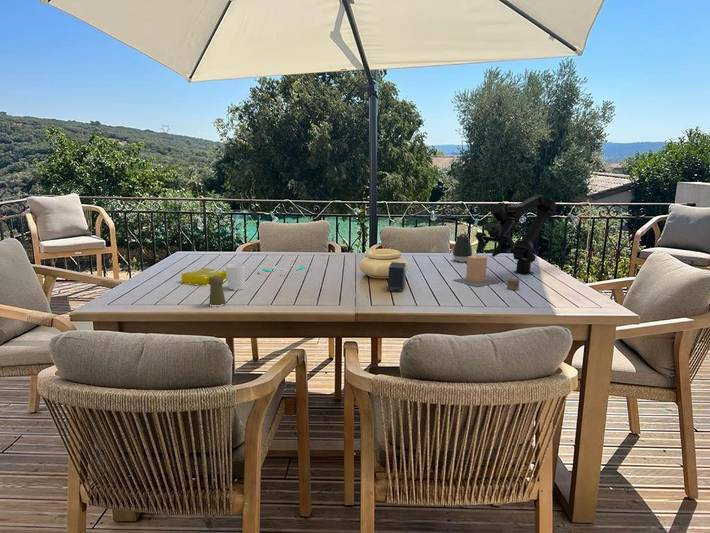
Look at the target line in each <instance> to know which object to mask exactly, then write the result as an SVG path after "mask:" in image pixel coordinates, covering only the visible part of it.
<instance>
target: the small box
mask: <svg viewBox="0 0 710 533" xmlns="http://www.w3.org/2000/svg"><path fill="white" fill-rule="evenodd" d="M406 267H407V265H406V262H405V263H404V262H394V261H392V262H391V263H390V264H389V266H388V278H387V279H388V283H387V285H388V286H387V291H388V292H397V293H403V291H404V289H405V287H406V272H407V271H406V270H407V268H406Z"/></svg>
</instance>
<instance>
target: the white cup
mask: <svg viewBox="0 0 710 533" xmlns="http://www.w3.org/2000/svg"><path fill="white" fill-rule="evenodd" d="M225 271H226V272H227V280H226V281H227V286H228V289H229V288H230V289H242V288H244V287H245V288H246V264H244V263H231V264H230V263H229V264H227V265H226V266H225Z"/></svg>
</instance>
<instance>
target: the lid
mask: <svg viewBox="0 0 710 533" xmlns="http://www.w3.org/2000/svg"><path fill="white" fill-rule="evenodd" d="M276 264H277V265H278V264H279V263H276ZM288 266H295V265H286V267H288ZM275 267H284V265H283V266H271V267H267V268H270V269H276V270H280V271H289V270H287V269H282V268H275ZM300 267H301V268H299V269H297V270H296V271H298V270H302V269H305V268H306V267H304V266H300ZM262 270H263V271H265V272H275V271H270V270H267V269H262Z"/></svg>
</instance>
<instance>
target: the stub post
mask: <svg viewBox="0 0 710 533" xmlns="http://www.w3.org/2000/svg"><path fill="white" fill-rule="evenodd" d="M519 287H520V278H511V277H508V279H507V282H506V290H508V289H510V290H511V291H518V290H519V289H520V288H519ZM518 288H519V289H518Z"/></svg>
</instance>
